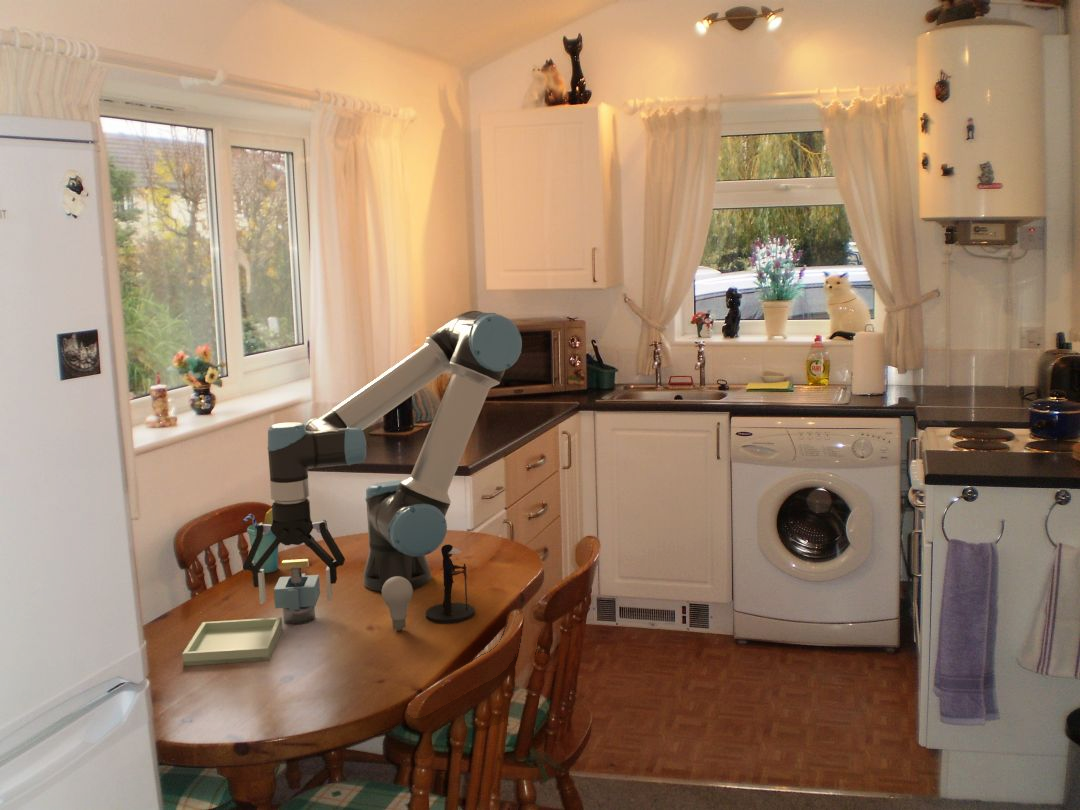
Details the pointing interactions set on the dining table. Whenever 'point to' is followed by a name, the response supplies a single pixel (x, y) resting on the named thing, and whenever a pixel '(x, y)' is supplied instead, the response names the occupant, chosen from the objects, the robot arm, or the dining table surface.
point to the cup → (263, 543)
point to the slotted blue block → (297, 592)
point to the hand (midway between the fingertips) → (296, 600)
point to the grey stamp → (295, 566)
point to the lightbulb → (397, 599)
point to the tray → (233, 641)
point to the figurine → (448, 610)
